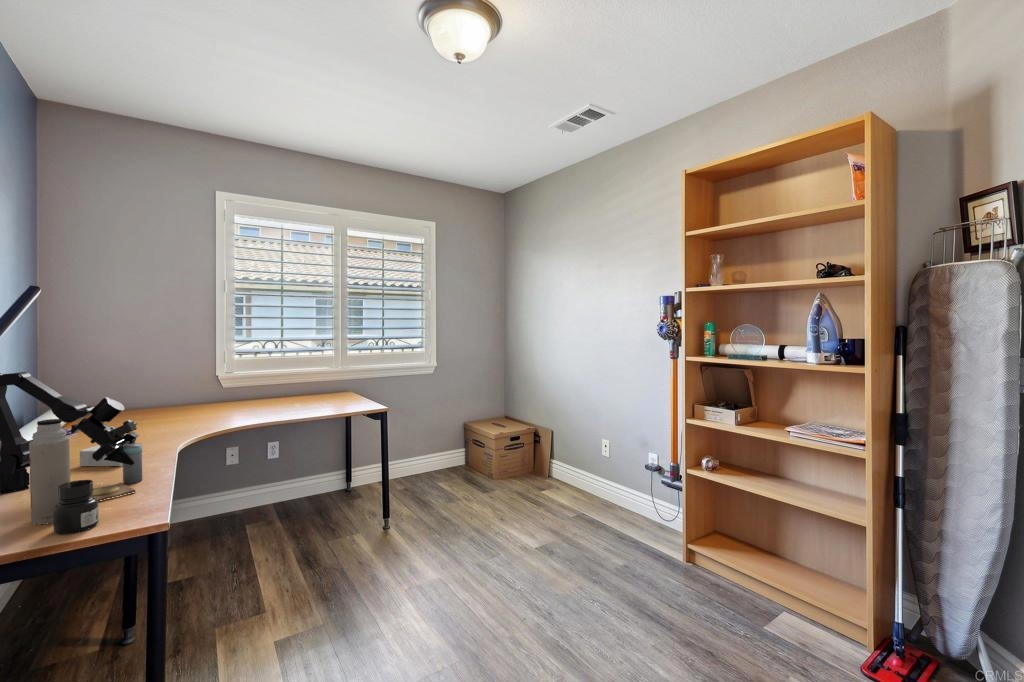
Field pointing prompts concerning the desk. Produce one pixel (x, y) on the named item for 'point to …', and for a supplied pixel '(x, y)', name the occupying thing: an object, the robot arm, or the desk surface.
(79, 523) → the ink bottle
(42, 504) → the thermos bottle
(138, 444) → the grey cylinder
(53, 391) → the robot arm
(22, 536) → the desk surface
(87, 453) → the skincare box
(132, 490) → the plate
